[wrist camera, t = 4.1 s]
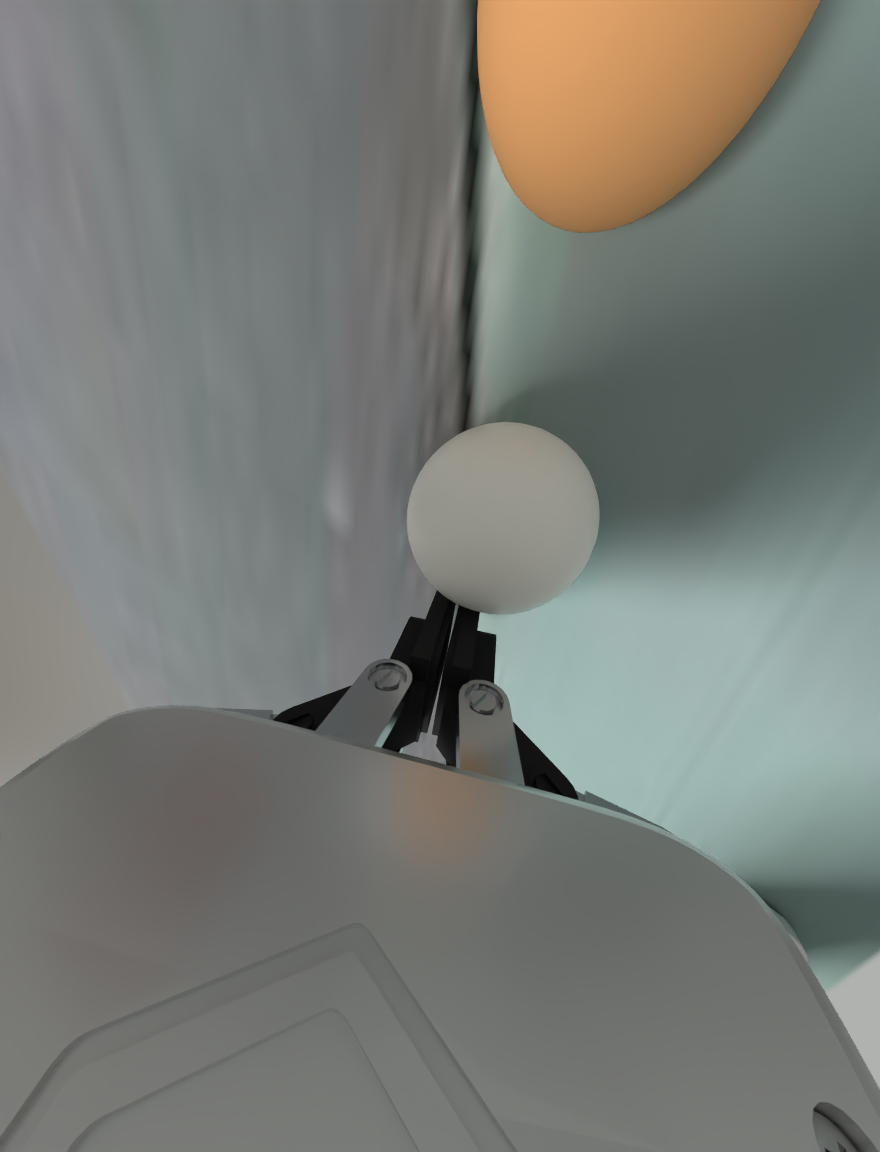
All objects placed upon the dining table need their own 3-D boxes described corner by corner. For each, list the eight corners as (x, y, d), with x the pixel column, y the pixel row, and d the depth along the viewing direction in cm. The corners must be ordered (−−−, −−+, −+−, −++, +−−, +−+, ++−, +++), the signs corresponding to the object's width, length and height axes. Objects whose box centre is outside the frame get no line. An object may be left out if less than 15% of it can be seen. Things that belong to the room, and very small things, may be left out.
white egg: (595, 626, 11) (689, 457, 8) (448, 679, 9) (493, 468, 5) (500, 541, 15) (536, 404, 11) (380, 562, 12) (381, 397, 9)
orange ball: (758, 165, 8) (1145, -238, 3) (538, 318, 10) (564, 220, 5) (693, -165, 6) (1258, -2000, 2) (450, 94, 8) (363, -350, 4)
